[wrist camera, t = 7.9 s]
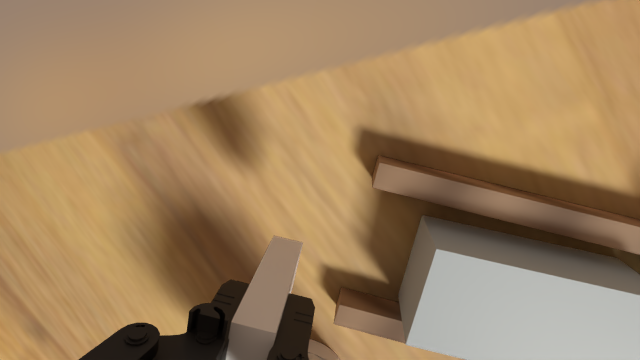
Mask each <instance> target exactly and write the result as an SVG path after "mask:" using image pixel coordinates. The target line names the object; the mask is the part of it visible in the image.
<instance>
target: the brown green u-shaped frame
mask: <svg viewBox="0 0 640 360" xmlns="http://www.w3.org/2000/svg"><path fill="white" fill-rule="evenodd" d="M372 187H373V188H376V189H380V190H384V191H388V192H392V193H396V194H400V195H404V196H408V197H412V198H416V199H420V200H424V201H428V202H432V203H436V204H440V205H444V206H448V207H452V208H456V209H460V210H464V211H468V212H472V213H476V214H480V215H484V216H487V217H491V218H495V219H499V220H503V221H507V222H511V223H515V224H519V225H523V226H527V227H531V228H535V229H539V230H543V231H547V232H551V233H555V234H559V235H563V236H567V237H571V238H575V239H579V240H583V241H587V242H591V243H595V244H599V245H603V246H607V247H611V248H615V249H619V250H623V251H627V252H631V253H635V254H639V255H640V220H639V219H635V218H631V217H626V216H622V215H618V214H614V213H610V212H606V211H602V210H598V209H594V208H590V207H586V206H582V205H578V204H574V203H570V202H566V201H562V200H558V199H553V198H549V197H545V196H541V195H537V194H533V193H529V192H525V191H521V190H517V189H513V188H509V187H505V186H501V185H497V184H493V183H489V182H485V181H481V180H476V179H472V178H468V177H464V176H460V175H456V174H452V173H448V172H444V171H440V170H436V169H432V168H428V167H424V166H420V165H416V164H412V163H408V162H404V161H399V160H395V159H391V158H387V157H383V156H379V155H378V158H377V161H376V165H375V169H374V172H373V176H372ZM334 324H336V325H339V326H343V327H347V328H350V329H354V330H358V331H361V332H365V333H369V334H373V335H376V336H380V337H384V338H387V339H391V340H395V341H398V342H402V343H405V337H404V330H403V324H402V317H401V311H400V304H399V302H395V301H391V300H388V299H384V298H380V297H376V296H373V295H369V294H365V293H361V292H358V291H354V290H350V289H346V288H342V287H341V290H340V293H339V297H338V300H337V304H336V310H335V319H334Z"/></svg>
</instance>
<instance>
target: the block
mask: <svg viewBox="0 0 640 360" xmlns="http://www.w3.org/2000/svg"><path fill="white" fill-rule="evenodd" d="M398 298H399V304H400V311H401V317H402V324H403V330H404V337H405V343H406V345H408V346H412V347H416V348H421V349H425V350H429V351H433V352H437V353H441V354H445V355H449V356H453V357H457V358H461V359H465V360H640V274H638V273H637V272H636V271H634V270H633V269H631V268H630V267H629V266H627V265H626V264H624V263H623V262H622V261H620V260H619V259H618V258H615V257H610V256H606V255H601V254H597V253H592V252H588V251H583V250H579V249H574V248H570V247H565V246H561V245H556V244H552V243H547V242H543V241H538V240H534V239H529V238H525V237H520V236H516V235H511V234H507V233H502V232H498V231H493V230H489V229H484V228H480V227H475V226H471V225H466V224H462V223H457V222H453V221H448V220H444V219H439V218H435V217H430V216H426V215H422V217H421V220H420V224H419V227H418V230H417V234H416V237H415V240H414V244H413V247H412V250H411V254H410V257H409V260H408V264H407V267H406V271H405V274H404V277H403V281H402V284H401V287H400V291H399V294H398Z"/></svg>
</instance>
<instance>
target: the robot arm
mask: <svg viewBox="0 0 640 360" xmlns="http://www.w3.org/2000/svg"><path fill="white" fill-rule="evenodd" d="M302 245H303V242H299V241H294V240H290V239H286V238H282V237H278V236H273V238H272V240H271V242H270V244H269V246H268V248H267V250H266V252H265V254H264V256H263V258H262V260H261V262H260V264H259V266H258V268H257V270H256V273H255V275H254V277H253V279H252V281H251V283H250V284H247V283H243V282H239V281H235V280H229V281H228V282H226V283H225V284H223V285H222V286H221V287H220V289H219V291H218V292H217V295H215V297H214V299H213V301H212V302H211V303H205V304H200V305H197V306H195V307H194V308H192V309H191V310H190V311H189V319H188V326H187V332H186V333H184V334H180V335H170V336H160V333H159V331H158V329H157V328H156V327H155V326H153V325H151V324H148V323H134V324H130V325H127V326H125V327H123V328H121V329H120V330H119V331H117V332H116V333H114V334H113V335H112V336H110V337H109V338H108V339H106V340H105V341H103V342H102V343H101V344H99V345H98V346H97V347H95V348H94V349H92V350H91V351H90V352H88V353H87V354H86V355H84V356H83V357H81V358H80V359H79V360H309V357H308V347H309V341H310V335H311V329H312V322H313V316H314V310H315V306H314V304H313V301H312V299H310V298H306V297H302V296H298V295H294V294H291V291H292V287H293V283H294V279H295V274H296V270H297V266H298V262H299V257H300V253H301V249H302Z"/></svg>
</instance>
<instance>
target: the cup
mask: <svg viewBox="0 0 640 360" xmlns="http://www.w3.org/2000/svg"><path fill="white" fill-rule="evenodd" d="M308 357H309V360H340V359H339V358H338V356H337V355H336V354H335V353H334V352H333V351H332V350H331V349H330V348H328V347H327V346H325V345H323V344H322V343H319V342H317V341H314V340H311V339H310V341H309V347H308Z"/></svg>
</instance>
